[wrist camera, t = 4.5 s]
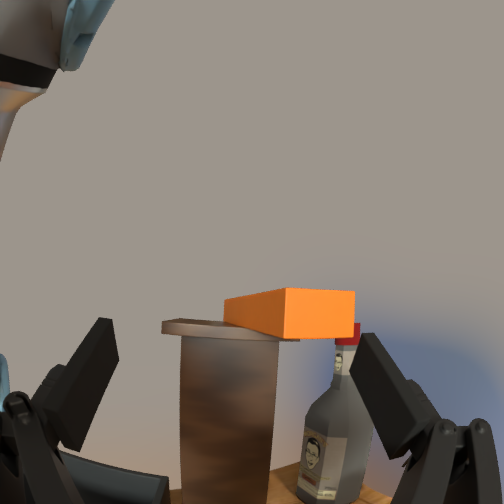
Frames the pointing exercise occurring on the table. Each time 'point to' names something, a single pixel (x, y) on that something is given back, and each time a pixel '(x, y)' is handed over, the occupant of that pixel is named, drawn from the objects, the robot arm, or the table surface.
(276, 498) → the table surface
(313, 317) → the orange bar
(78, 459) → the dark grey open box
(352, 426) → the liquor
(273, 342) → the wooden pedestal column
